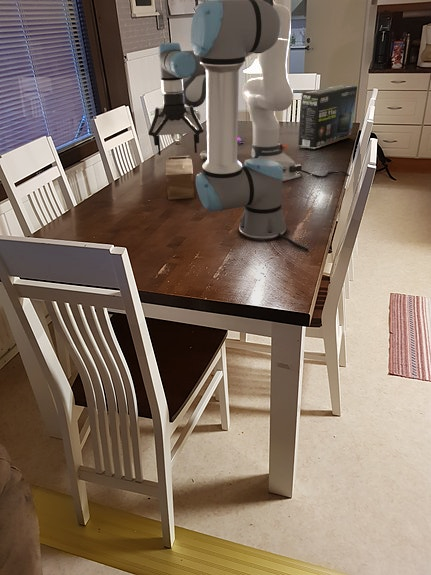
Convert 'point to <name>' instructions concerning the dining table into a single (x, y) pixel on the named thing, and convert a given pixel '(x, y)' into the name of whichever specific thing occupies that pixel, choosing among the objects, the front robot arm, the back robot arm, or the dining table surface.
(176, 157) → the drawer
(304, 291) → the dining table surface
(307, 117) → the router box
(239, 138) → the handgun
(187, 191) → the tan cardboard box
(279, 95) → the back robot arm
